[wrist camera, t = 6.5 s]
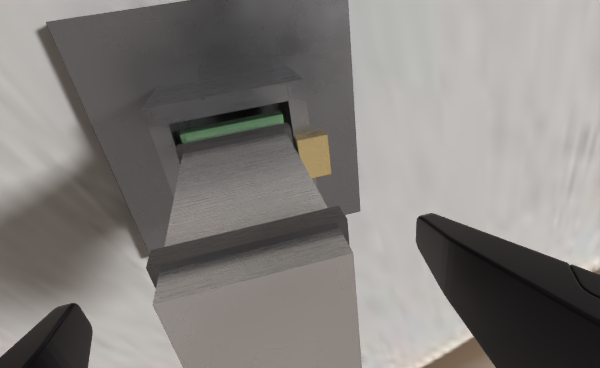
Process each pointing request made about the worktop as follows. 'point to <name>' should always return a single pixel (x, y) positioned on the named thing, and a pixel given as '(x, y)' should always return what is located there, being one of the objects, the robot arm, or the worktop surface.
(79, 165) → the worktop surface
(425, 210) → the worktop surface
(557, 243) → the worktop surface
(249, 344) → the gray rectangular plug
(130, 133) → the stand base
